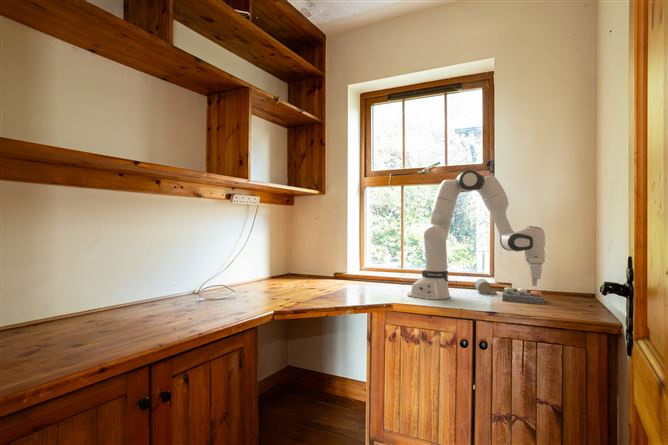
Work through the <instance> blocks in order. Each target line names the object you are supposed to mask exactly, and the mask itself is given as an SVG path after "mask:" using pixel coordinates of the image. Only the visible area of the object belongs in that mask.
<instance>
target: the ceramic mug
mask: <svg viewBox="0 0 668 445" xmlns="http://www.w3.org/2000/svg"><path fill="white" fill-rule="evenodd" d="M474 288H475V289H476V291H478V292H479V293H480V294H483V295H488V294H491V293H492V294H495V295H496V294H497V293H498V292H497V290H496V289H493V288H492V284H490V283H489V282H488V280H487V279H484V278H479V279H477V280H476V281H475V283H474Z"/></svg>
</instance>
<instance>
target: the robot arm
mask: <svg viewBox="0 0 668 445" xmlns="http://www.w3.org/2000/svg"><path fill="white" fill-rule="evenodd" d="M473 191H476V192H477V193H478V194H479V195H480V197H481V199H482V201H483V204H484V205H485V207H486V209H487V210H488V212H489V213H490V215H491V217H492V218H493V221H494V224H495V226H496V228H497V230H498V233H499V242H500V246H501V247H502V249H504V250H505V251H510V252H511V251H512V252H522V251H524V262H526V263H527V265H528V267H529V271H528V272H529V275H530V278H531V284H532V287H537V286H538V285H537V284H538V280H541V276H542V270H543V269H542V268H543V264H544V263H546V251H545V246H546V234H545V230H544V229H543V228H542V227H538V226H533V225H532V226H531V225H528V226H526V227H525V228H523V229H522V230H519V231H514V230H513V228H512V227H511V225H510V222H509V219H508V217H507V209H508V208H509V203H510V202H509V198H508V196H507V194H506V191H505V189H504V187H503V186H502V185H501V183H500V181H499V180H498V179H497V177H496V176H494V175H488V174H487V175H483V174H481V173H479V172H477V171H476V170H473V169H467V170H463V171H462V172H461V173H460V174H459V175H458V176H457V177H456V178H455V179H445V180H443V181H442V182H441V183H440V185H439V187H438V189H437V192H436V195H435V198H434V200H433V205H432V208H431V213H430V214H431V215H430V219H429V224H428V226H427V227H426V228H425V230H424V233H423V241H424V242H423V243H424V252H425V269H423V270H422V271H421V277H420V278H419V279H417V280H416V281H414V282H413V284H412V286H411V290H410V291H408V292H407V294H406V295H407V297H410V298H412V297H413V298H418V299H419V298H420V299H427V300H444V299H445V300H446V299H450V298H451V295H450V291H449V286H448V285H449V283H448V281H449V271H448V254H447V239H448V236H449V232H450V228H451V224H452V220H453V217H454V216H453V215H454V212H455V208H456V205H457V200H458V198H459V195H460V193H469V192H473Z"/></svg>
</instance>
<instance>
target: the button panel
mask: <svg viewBox="0 0 668 445" xmlns="http://www.w3.org/2000/svg"><path fill="white" fill-rule="evenodd" d="M501 301H502V302H509V303H523V304H524V303H525V304H531V305H532V304H534V305H544V304H545V298H544V296H543V294H542V293H541V296H533V295H531V292H527V293H524V295H520V293H519V292H517V291H514V292H511V294H507V292H506V291H504V290H502V300H501Z"/></svg>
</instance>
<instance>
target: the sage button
mask: <svg viewBox="0 0 668 445" xmlns="http://www.w3.org/2000/svg"><path fill="white" fill-rule="evenodd" d="M503 289H504V290H503V291H506V292H507V294H511V292H515V289H514V287H510V286H509V287H504V288H503Z"/></svg>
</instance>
